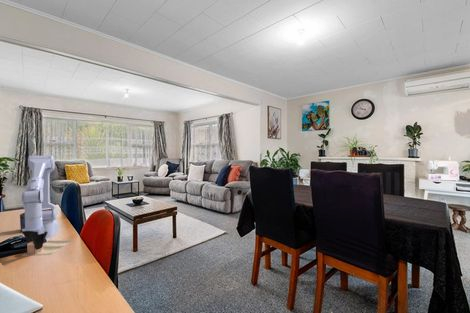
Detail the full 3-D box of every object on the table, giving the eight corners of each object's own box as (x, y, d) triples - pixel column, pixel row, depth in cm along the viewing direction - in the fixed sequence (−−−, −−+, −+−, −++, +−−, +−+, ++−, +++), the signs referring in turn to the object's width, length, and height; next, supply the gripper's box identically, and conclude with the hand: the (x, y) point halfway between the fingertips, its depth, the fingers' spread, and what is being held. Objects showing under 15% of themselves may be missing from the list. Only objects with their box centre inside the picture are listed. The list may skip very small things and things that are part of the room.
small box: (19, 232, 127) (18, 214, 126) (26, 228, 133) (26, 211, 133) (41, 230, 130) (40, 212, 129) (47, 226, 136) (47, 209, 136)
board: (48, 243, 111) (48, 230, 111) (73, 241, 112) (73, 229, 112) (20, 258, 95) (19, 244, 95) (50, 257, 96) (49, 243, 96)
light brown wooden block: (26, 252, 99) (25, 243, 98) (40, 247, 103) (39, 239, 103) (30, 254, 96) (30, 245, 96) (44, 250, 100) (44, 241, 100)
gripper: (15, 217, 99) (17, 247, 100) (28, 222, 92) (30, 254, 92) (35, 213, 105) (37, 241, 106) (49, 217, 98) (50, 247, 99)
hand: (35, 246), depth 99 cm, fingers open, 7 cm apart
